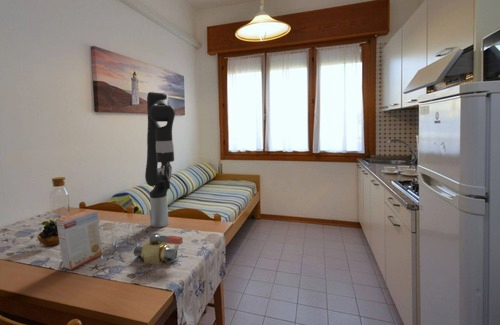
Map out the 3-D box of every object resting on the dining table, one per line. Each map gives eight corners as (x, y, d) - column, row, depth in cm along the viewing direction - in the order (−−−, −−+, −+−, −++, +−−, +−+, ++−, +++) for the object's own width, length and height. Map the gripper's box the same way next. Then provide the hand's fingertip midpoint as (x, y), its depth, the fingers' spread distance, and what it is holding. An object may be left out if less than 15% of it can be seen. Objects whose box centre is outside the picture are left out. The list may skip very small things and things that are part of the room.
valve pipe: (132, 262, 113) (130, 243, 112) (142, 254, 120) (140, 236, 118) (171, 265, 110) (170, 246, 108) (179, 256, 116) (178, 239, 115)
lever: (147, 242, 112) (147, 237, 112) (153, 238, 116) (153, 233, 115) (178, 245, 108) (178, 240, 108) (183, 241, 112) (183, 236, 112)
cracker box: (94, 252, 122) (89, 209, 119) (102, 255, 119) (98, 210, 116) (61, 267, 109) (55, 219, 106) (70, 270, 107) (64, 221, 104)
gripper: (160, 149, 124) (162, 185, 126) (152, 152, 110) (154, 193, 113) (176, 149, 124) (178, 185, 127) (170, 152, 111) (172, 192, 114)
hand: (167, 188), depth 120 cm, fingers closed
